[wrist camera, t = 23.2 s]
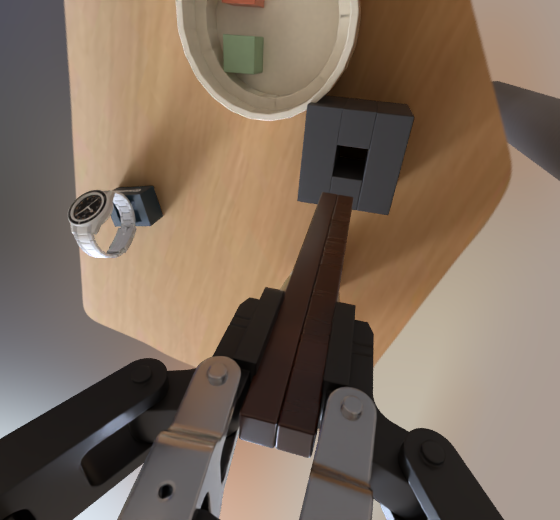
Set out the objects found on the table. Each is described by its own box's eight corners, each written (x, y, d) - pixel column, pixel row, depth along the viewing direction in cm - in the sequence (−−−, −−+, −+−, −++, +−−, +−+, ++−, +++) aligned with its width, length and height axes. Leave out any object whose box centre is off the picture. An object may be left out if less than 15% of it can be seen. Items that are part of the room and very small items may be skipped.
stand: (408, 104, 33) (414, 116, 28) (386, 189, 38) (388, 215, 32) (318, 94, 35) (307, 104, 29) (308, 178, 40) (297, 201, 34)
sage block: (263, 36, 33) (254, 36, 30) (262, 72, 34) (254, 74, 32) (234, 34, 33) (222, 34, 31) (234, 70, 35) (223, 71, 32)
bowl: (377, -85, 27) (378, -111, 23) (344, 119, 35) (340, 129, 31) (198, -89, 30) (166, -114, 25) (206, 102, 38) (183, 110, 33)
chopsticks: (353, 196, 22) (316, 434, 8) (350, 213, 22) (310, 460, 9) (322, 191, 22) (238, 413, 9) (319, 208, 22) (238, 439, 9)
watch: (148, 171, 44) (89, 203, 35) (166, 227, 48) (117, 270, 39) (111, 173, 45) (45, 205, 36) (132, 228, 49) (77, 269, 40)
